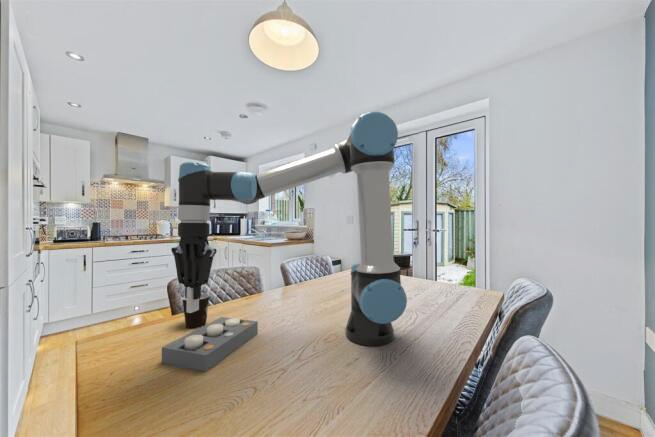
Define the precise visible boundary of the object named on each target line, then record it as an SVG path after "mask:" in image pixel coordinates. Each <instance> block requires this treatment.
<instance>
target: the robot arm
mask: <svg viewBox="0 0 655 437" xmlns="http://www.w3.org/2000/svg"><path fill="white" fill-rule="evenodd" d="M398 138H399V130H398V127H397V124H396V123H395V120H393V119H392V118H391V117H390V116H389V115H388V114H387V113H386V114H385V113H384V112H381V111H369V112H365V113H364V114H361V115H360V116H358V117H357V118H356V120H355V121H354V123H353V124H352V125H351V127H350V133H349V135H348V137H347V139H345V140H343V141H342V142H339V143H336V144H334V146H333V148H331V149H329V150H326V151H323V152H320V153H317V154H314V155H311V156H308V157H305V158H302V159H299V160H296V161H292V162H289V163H287V164H284V165H281V166H279V167H275V168H272V169H270V170H267V171H263V172H260V173H257V174H254V173H252V172H244V171H212V170H211V166H210V165H209V164H206V163H204V162H203V163H202V162H195V161H186V162H183V163H181V164H180V166H179V172H178V179H177V181H178V207H177V208H178V209H177V210H178V211H177V220H178V221H180V222H178V224H177V236H178V237H179V238H180V240H179V242H178V245H176V246H175V247H171V253H172V254H173V256H174V257H173V258H174V263H175V268H176V269H175V270H176V274H177V280H178V284H179V285H183V286H184V292H185V293H184V296H185V298H186V299H187V307H186V312H187V313H192V312H195V311H197V310H199V298H200V297H201V293H202V286H203V285H207V284H208V282H209V280H210V274H211V269H212V264H213V260H214V257H215V255H216V254H217V249H216V248H212V247H211V246H210V243H209V240H208V238H209V236H210V225H211V224H210V223H208V222H209V221H210V218H211V217H210V215H211V214H210V212H211V211H210V210H211V201H233V202H237V203H241V204H244V205H250V204H251V205H252V204H255V203H257V202H258V201H259V200H263V199H264V198H267V197H269V196H273V195H277V194H278V193H282V192H286V191H288V190H290V189H294V188H297V187H301V186H303V185H305V184H309V183H311V182H314V181H319V180H320V179H323V178H327V177H330V176H332V175H335V174H338V173H341V174H348V173H351V172H353V173H355V175H356V184H357V200H358V201H357V204H358V223H359V225H358V226H359V241H360V242H359V243H360V261H361V262H360V263H354V264H352V265H351V271H350V276H351V278H350V279H351V280H350V282H351V283H350V284H351V286H350V288H351V289H350V292H351V295H350V300H351V301H350V304H351V305H350V306H351V308H350V314H349V317H348V319H347V322H346V327H345V335H346V336H345V337H346V338H347V339H348V340H349V341H351V342H353V343H355V344H359V345H363V346H370V347H373V346H374V347H375V346H376V347H377V346H384V345H388V344H390V343H391V342H392V341H394V338H395V337H394V336H395V335H394V332H395V331H394V327H393V324H392V323H393V322H395V321H396V320H398V319H399V318H400V317H401V316H402V315H403V314H404V312H405V310H406V307H407V303H408V301H407V300H408V298H407V294H406V291H405V288H404V287H403V286H402V283H401V282H402V280H401V267H400V266H399V265H398V263H396V262H395V260H394V247H393V246H394V244H393V243H394V242H393V241H394V240H393V224H392V208H391V207H392V206H391V205H392V204H391V190H390V189H391V187H390V186H391V185H390V184H391V183H390V171H391V170H392V169H393V168H394V167H395V150H394V148H395V147H396V145H397V143H398V142H397V141H398Z"/></svg>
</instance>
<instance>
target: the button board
mask: <svg viewBox="0 0 655 437" xmlns="http://www.w3.org/2000/svg"><path fill="white" fill-rule="evenodd" d="M231 318H232V317H225V316H221V317H219V318H217V319H214V320H212V321H211V322H209V323H206V325H204V326H202V327H200V328H196V329H194V330H193V331H191V332H189V333H187V334H185V335H183V336H181V337H179V338H178V339H175V340H174V341H172V342H170V343H167V344H166V345H164V346H162V347H161V363H162V364H165V365H171V366H175V367H181V368H184V369H189V370H194V371H200V372H208V371H209V370H211V369H212V368H214V367H215V366H216V365H217V364H219V363H220V362H221V361H223V360H224V359H225V358H227V357H228V356H229V355H231V354H232V353H234V352H235V351H237V350H238V349H239V348H240V347H242V346H243V345H245V344H246V343H247V342H249V341H250V340H251V339H253V338H254V337H255V336H256V335H258V333H259V332H258V326H259V324H258V322H259V321H255V320H249V319H242V318H239V319H240V324H239V325H237V326H235V327H230V326H225V321H226V320H227V319H231ZM213 324H222V325H223V334H221V335H219V336H216V337H209V336H207V327H208V326H210V325H213ZM192 335H202V336H203V346H201V347H200V348H197V349H193V350H186V349H185V348H184V340H185V338H187V337H189V336H192Z"/></svg>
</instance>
